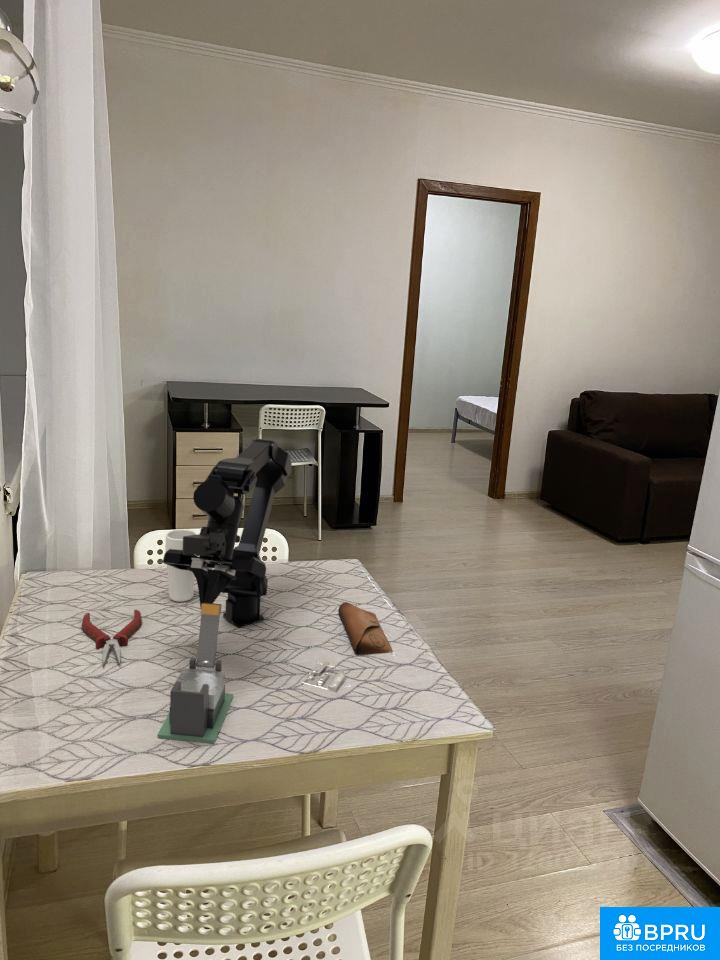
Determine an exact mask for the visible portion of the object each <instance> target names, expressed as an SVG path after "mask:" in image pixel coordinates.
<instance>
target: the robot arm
mask: <svg viewBox="0 0 720 960" xmlns="http://www.w3.org/2000/svg"><path fill="white" fill-rule="evenodd" d="M278 445H279V444H278V442H277V441H274V440H272V439H265V438H264V439H263V438H255V439H254V438H253V439H252V440H251V442H250V444H249V446H247V447H246V448H245V449H244V450H243V451H242V452H241V453H239V454H238V455H237V456H236V457H231V458H230V457H229V458H224V459H223V458H222V459H221V460H219V461H218V462H217V463H216V465H214V466H213V468H212V470H211V471H210V473H209V474H208V475H207V477H206V478H205V480H204V482H202V483H200V484H199V485H198V486H197V487H196V488H195V490H194V492H193V497H192V498H193V502H194V505H195V506H196V507H197V508H198V510H200V511H201V512H202V513H204V515H206V516H207V517H208V519H207V523H206V526H202V527H201V529H200V531H199V534H197V535H189V536H183V550H175V549H169V550H168V551H167V552H166V551H165V552H164V555H163V558H162V564H164V565H166V566H167V565H169V566H172V567H174V568H177V569H180V570H188V571H191V572H193V574H194V576H195V581H196V584H197V590H198V600H199V607H200V608H199V609H201V606H202V603H215V601H216V600H217V599H218V598H219V596H220V595H221V593H222V594H227V598H226V600H225V612H224V613H222V616H223V617H224V619H226V620H228V621H229V622H231V623H232V624H233V625H235V626H236V627H237V628H242V627H245V626H248V625H251V624H255V623H257V622H261V621H265V617H264V615H262V614H261V597H265V596H267V594H268V582H269V581H268V578H267V575H266V572H267V566H266V564H265V561H262V557H261V555H260V553H261V548H262V545H263V541H264V539H265V538H264V537H265V533H266V529H267V526H268V523H269V520H270V519H269V518H270V516H271V515H270V514H271V510H272V507H273V503H274V499H275V497H276V496H275V495H276V494H277V493H279V492H280V490H282V489H283V488H284V487H285V486H286V483H287V480H288V477H290V476H291V473H292V467H293V465H292V460H291V457H290V455H289V453H288V452H287V451H285V450H284V449H283V448H281V447H279V446H278ZM253 489H254V490H253ZM252 490H253V491H252ZM251 491H252V492H253V493H252V497H251V500H250V503H249V504H250V505H249V507H248V510H247V511H248V512H247V514H246V518H245V521H244V524H243V529H242V531H241V535H238V532H239V526H240V522H241V517H242V514H243V511H244V509H245V505H244V503H243V502H242V499H241V496H239V495H244V496H245V495H248V494H249V493H250V492H251ZM235 494H236V495H235ZM237 494H238V495H237ZM236 542H237V543H238V545H237V546H236V547H235V545H236ZM194 554H195V555H194ZM196 555H197V556H196Z"/></svg>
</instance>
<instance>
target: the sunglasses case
mask: <svg viewBox="0 0 720 960" xmlns="http://www.w3.org/2000/svg"><path fill="white" fill-rule="evenodd" d="M338 615H339V618H340V619H341V621H342V624H343V627H344V628H345V631H346V633H347V635H348V638H349V641H350V644H351V646H352V648H353V651H354V652H355V654H356V655H357V656H366V655H379V654H380V655H381V654H387V653H393V648H392V646H391V643H390V642H389V640H388V638H387V636H386V634H385V632H384V630H383V628H382V626H381V624H380V622H379V619H378V618H377V614H376V613H374V612H372V611H368V610H366V609H363V608H359V606H356V605H355V604H353V603H349V602H347V601H344V602H342V603H341V604H340V605H339V607H338Z"/></svg>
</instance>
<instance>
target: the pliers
mask: <svg viewBox="0 0 720 960" xmlns="http://www.w3.org/2000/svg"><path fill="white" fill-rule="evenodd" d="M141 615H142V614H141V611H140V610H138V609H134V610H133V619H132V620H131V621H130V622H128V623H127V624H126V625H125V626H124V627H123V628H122V629H120V631H118V632H117V633H115V634H114V635H113V637H112V639H111V636H110V635H109V634H106V633H105V632H104V631H103V630H101V629H100V628H99V627H97V626H96V625H95V624H93V623H92V622H91V613H90V612H87V613H86V612H85V614H84V615H83V616H82V621H81V622H82V623H81V628H82V630H83V632H84V633H85V634H86V635H87V637H89V636H90V637H89V638H91V639H92V640H93V639H94V640H93V641H94V642H95V649H96V650H100V648H101V649H102V667H104V666H105V665H106V663H107V662H108V659H109V657H110V653H111V651H114V652H113V654H114V658H115V657H116V658H115V659H116V661H117V664H118V665H119V666H120V665H121V655H122V652H121V647H123V646H127V645H128V646H129V639H130V638H131V637H132V636H133V635H134V634H135V633H136V632H137V631H138V630H139V629H140V628H141V626H142V623H143V622H142V621H143V620H142V616H141ZM139 627H140V628H139ZM132 634H133V635H132ZM131 635H132V636H131ZM119 646H120V647H119ZM128 646H127V647H128ZM103 647H104V648H103Z"/></svg>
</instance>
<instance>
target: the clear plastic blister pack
mask: <svg viewBox="0 0 720 960" xmlns="http://www.w3.org/2000/svg"><path fill="white" fill-rule="evenodd" d="M319 663H320V664H319ZM318 664H319V665H322V666H321V667H320V669H319V670H318V671H317V670H314V669H315V668H316V667H317V666H318ZM316 665H317V666H316ZM328 666H329V667H331V668H334V666H332V665H330V663H329V662H327V661H325V663H323V662H322V663H321V662H317V663H316V664H315V665H314V666H313V667H312V669H311V670H310V671H309V672H308V673H309V674H308V673H307V674H306V676H304V678H303V679H302V680H301V682H300V683H302V684H305V685H309V686H312V687H316V688H319V689H324V690H328V691H332V692H334V693H336V692H337V691H338V690H339V689H340V687H341V686H342V684H343V683H344V682H345V681H346V679H347V678H346V677H347V674H346V673H345V670H344V668H343V667H337V666H335V667H336V669H339V671H338V673H336V675H335V676H334V678H333V679H332V680H331V682H330V683H329V684H328V687H327V688H325V687H323V685H324V684H325V683H326V681H327V680H328V679H329V677H330V673H328V672H324V673H323V674H322V677H320V678H319V679H318V681H317V685H315V684H314V685H313V684H311V683H306V682H305V680H306V679H307V680H308V681H310V680H312V681H314V680H315V674H316V676H317V677H318V676H321V673H322V672H323V671H325V670H326V669H327V668H328Z"/></svg>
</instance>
